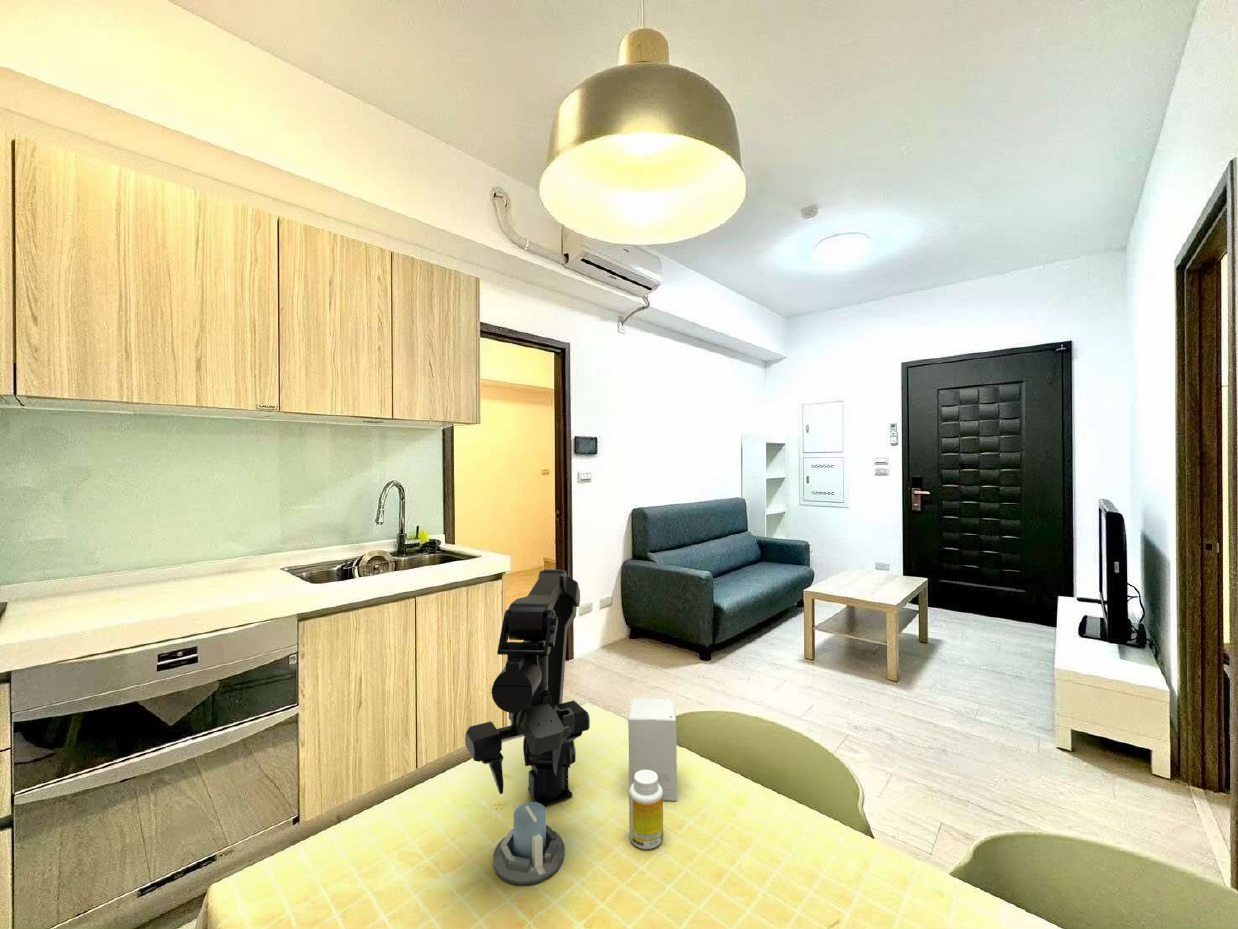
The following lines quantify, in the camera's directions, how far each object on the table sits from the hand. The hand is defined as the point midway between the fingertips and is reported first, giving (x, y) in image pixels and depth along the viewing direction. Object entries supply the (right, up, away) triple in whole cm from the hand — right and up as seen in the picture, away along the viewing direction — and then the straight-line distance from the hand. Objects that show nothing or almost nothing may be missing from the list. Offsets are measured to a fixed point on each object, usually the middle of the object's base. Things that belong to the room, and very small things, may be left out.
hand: (529, 783), depth 80 cm
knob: (0, -11, 0) cm, 11 cm away
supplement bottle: (+19, -12, +4) cm, 22 cm away
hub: (0, -12, 0) cm, 12 cm away
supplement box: (+21, -12, +18) cm, 30 cm away
